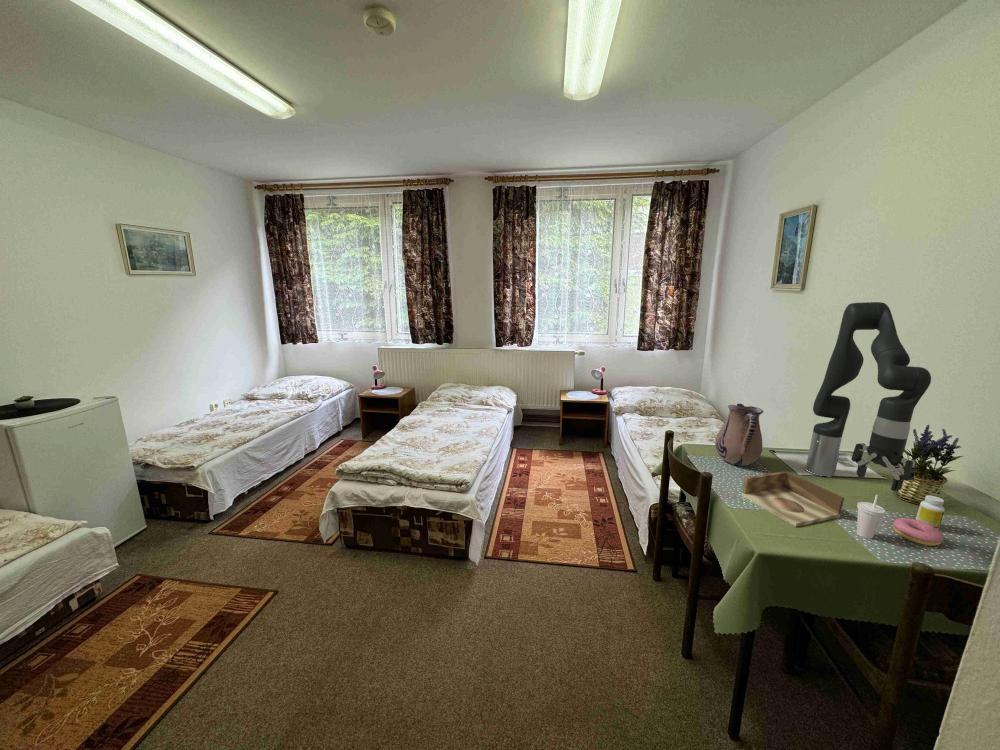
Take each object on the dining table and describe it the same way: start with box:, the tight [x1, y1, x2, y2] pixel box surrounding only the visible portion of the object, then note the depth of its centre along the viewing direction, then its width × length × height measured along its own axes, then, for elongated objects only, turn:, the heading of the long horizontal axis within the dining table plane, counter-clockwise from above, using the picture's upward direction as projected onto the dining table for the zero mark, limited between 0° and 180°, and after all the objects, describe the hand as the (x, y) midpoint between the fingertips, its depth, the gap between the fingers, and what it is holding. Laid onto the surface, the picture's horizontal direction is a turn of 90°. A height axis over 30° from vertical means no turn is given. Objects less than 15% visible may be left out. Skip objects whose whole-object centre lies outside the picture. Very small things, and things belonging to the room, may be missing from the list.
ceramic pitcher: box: [714, 403, 764, 467], centre depth 168 cm, size 18×21×25 cm
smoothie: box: [856, 494, 887, 540], centre depth 121 cm, size 6×6×14 cm
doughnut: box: [892, 517, 944, 547], centre depth 121 cm, size 11×11×4 cm
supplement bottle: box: [915, 495, 945, 530], centre depth 127 cm, size 5×5×10 cm
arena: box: [741, 470, 845, 528], centre depth 137 cm, size 20×20×7 cm
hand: (877, 483), depth 118 cm, fingers open, 8 cm apart
